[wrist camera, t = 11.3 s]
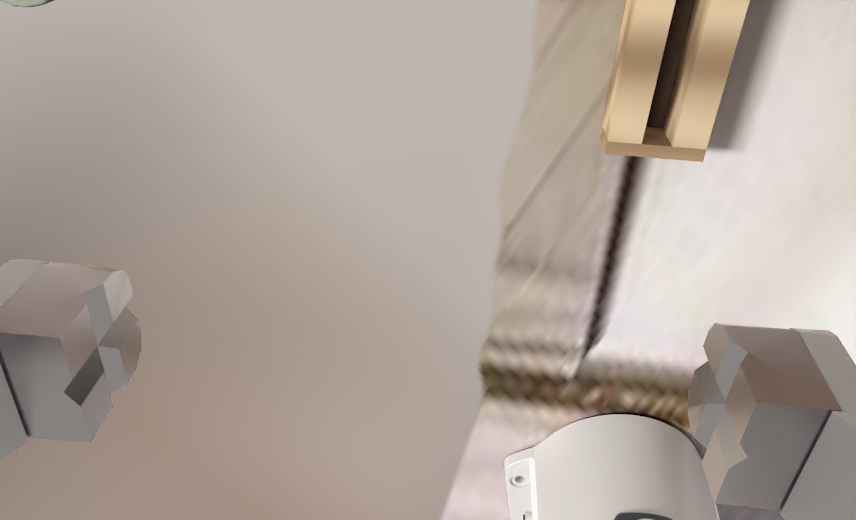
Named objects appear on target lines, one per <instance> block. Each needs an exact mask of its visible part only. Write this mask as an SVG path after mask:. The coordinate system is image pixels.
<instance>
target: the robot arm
mask: <svg viewBox="0 0 856 520" xmlns="http://www.w3.org/2000/svg"><path fill="white" fill-rule="evenodd" d="M132 295H133V292H132V289H131V285H130V281H129V277H128V275H127V274H125V273H124V272H123V271H122V270H120V269H112V268H103V267H94V266H85V265H75V264H67V263H57V262H52V263H50V262H46V261H36V260H26V259H16V260H12V261H7V262H6V263H5V264H4V265H3V266H2V267H1V268H0V461H1V460H2V459H4V458H5V457H7V456H8V455H9V454H11V453H12V452H14V451H15V450H17V449H18V448H19V447H21V446H22V445H24V444H25V443H27V442H28V438H35V439H51V440H64V441H78V442H91V441H92V440H93V438H94V437H95V435H96V433H97V432H98V430H99V428H100V427H101V425H102V424H103V422H104V421H105V419H106V417H107V416H108V414H109V413H110V411H111V409H112V408H113V404H112V400H111V396H110V394H111V393H112V392H114V391H115V390H117V389H119V388H121V387H123V386H124V385H126V384H127V383H128V382H129V380H130V378H131V376H132V375H133V373H134V371H135V370H136V367H137V363H138V360H139V355H140V352H141V331H140V325H139V320H138V319H137V318H136V317H135V316H134V315H133V314H132V313H131V312H130V311H129V310H128V309H127V308H126V307H125V306H126V304H127V303H128V301H129V300H130V298H131V297H132ZM703 347H704V350H705V352H706V355H707V358H708V361H707V362H706V363H705V364H703V365H702V366H701V367H699V368H698V369H696V370H695V371H694V375H693V378H692V381H691V385H690V388H689V397H688V416H689V423H690V427H691V430H692V434H693V437H694V438H695V439H696V440H697V441H698V442H699V443H700V444H701V445H703V446H704V447H705V448H706V449H707V450H706V452H705V455H704V458H703V460H702V459H701V457H700V456H699V454H698V452H697V450H696V448H695V447H694V445H693V444H692V442H691V441H690V440H689V439H688V438H687V437H686V436H685V435H684V434H682V433H681V432H680V431H678V430H677V429H675V428H674V427H672V426H670V425H668V424H666V423H663V422H661V421H658V420H655V419H652V418H648V417H643V416H637V415H626V414H612V415H602V416H595V417H590V418H586V419H583V420H579V421H577V422H574V423H571V424H569V425H567V426H565V427H563V428H561V429H559V430H558V431H556V432H554V433H553V434H552V435H550V436H549V437H548V438H546V439H545V440H544V441H543V442H541V443H540V444H538V445H536V446H535V447H532V448H529V449H525V450H522V451H519V452H517V453H514V454H512V455H510V456H508V457H507V458H506V459H505V461H504V469H505V478H506V486H507V495H508V503H509V511H510V520H720V518H719V513H718V509H717V504H723V505H731V506H739V507H747V508H755V509H763V510H771V511H779V512H781V513H780V515H781V517H782V518H783V519H784V520H856V365H855V363H854V362H853V360H852V359H851V357H850V356H849V354H848V352H847V351H846V349H845V348H844V346H843V345H842V343H841V341H840V340H839V338H838V337H837V336H836V335H835V334H833V333H832V332H830V331H827V330H811V329H795V328H790V329H779V328H767V327H755V326H743V325H731V324H719V323H715V324H714V325H713V326H712V328H711V329H710V330H709V332H708V334H707V337H706V340H705V343H704V345H703Z"/></svg>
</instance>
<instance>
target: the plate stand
mask: <svg viewBox="0 0 856 520" xmlns="http://www.w3.org/2000/svg"><path fill="white" fill-rule="evenodd" d="M675 2H676V0H626V5H625V10H624V15H623V20H622V25H621V30H620V35H619V40H618V45H617V50H616V55H615V60H614V65H613V70H612V75H611V80H610V85H609V90H608V95H607V100H606V105H605V110H604V115H603V120H602V125H601V130H600V138H601V142H602V145H603V148H604V151H605V154H615V155H627V156H639V157H651V158H663V159H676V160H688V161H700V162H703V159H704V156H705V152H706V149H707V145H708V142H709V139H710V135H711V132H712V128H713V125H714V122H715V118H716V115H717V111H718V108H719V104H720V101H721V98H722V94H723V91H724V87H725V84H726V81H727V77H728V74H729V70H730V67H731V63H732V60H733V57H734V53H735V50H736V46H737V43H738V40H739V36H740V33H741V29H742V26H743V22H744V19H745V16H746V12H747V9H748V5H749V2H750V0H695V3H694V7H693V10H692V14H691V18H690V22H689V26H688V30H687V34H686V38H685V42H684V46H683V50H682V54H681V58H680V62H679V66H678V70H677V74H676V78H675V82H674V86H673V90H672V94H671V98H670V102H669V106H668V110H667V114H666V118H665V122H664V126H663V128H656V127H646V124H647V120H648V116H649V111H650V107H651V103H652V99H653V94H654V90H655V86H656V82H657V78H658V73H659V69H660V65H661V61H662V57H663V52H664V48H665V44H666V40H667V36H668V31H669V27H670V23H671V19H672V14H673V10H674V6H675Z"/></svg>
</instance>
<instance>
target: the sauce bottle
mask: <svg viewBox="0 0 856 520" xmlns="http://www.w3.org/2000/svg"><path fill="white" fill-rule="evenodd" d="M0 1H2V2H6V3H9V4H10V5H13V6H23V7H35V6H40V5H43V4H46V3H48V2H51V1H53V0H0Z"/></svg>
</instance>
